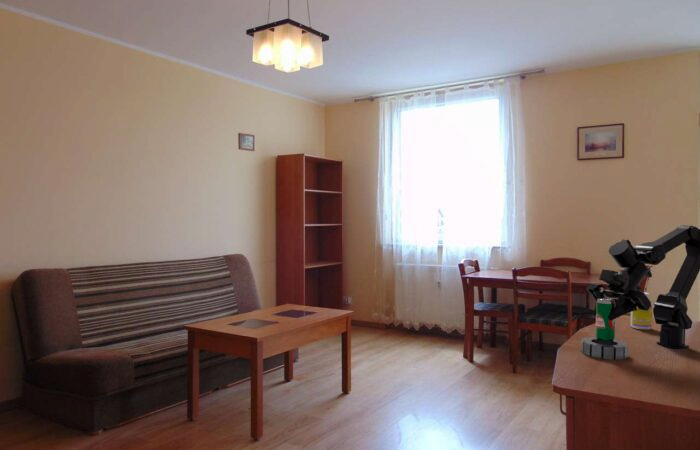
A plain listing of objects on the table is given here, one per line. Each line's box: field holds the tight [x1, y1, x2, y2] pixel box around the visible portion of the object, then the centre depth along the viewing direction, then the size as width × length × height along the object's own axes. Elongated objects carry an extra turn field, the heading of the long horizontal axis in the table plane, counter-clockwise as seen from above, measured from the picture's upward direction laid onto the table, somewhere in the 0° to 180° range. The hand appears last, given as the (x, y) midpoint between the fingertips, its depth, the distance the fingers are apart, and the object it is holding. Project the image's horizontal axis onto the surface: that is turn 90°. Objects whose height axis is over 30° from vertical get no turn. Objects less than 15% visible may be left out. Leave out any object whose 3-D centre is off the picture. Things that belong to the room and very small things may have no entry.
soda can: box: [595, 297, 616, 341], centre depth 153 cm, size 5×5×12 cm
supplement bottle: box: [630, 291, 653, 331], centre depth 188 cm, size 7×7×13 cm
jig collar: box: [580, 336, 629, 361], centre depth 153 cm, size 12×12×4 cm
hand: (602, 317), depth 152 cm, fingers closed on soda can, 5 cm apart
